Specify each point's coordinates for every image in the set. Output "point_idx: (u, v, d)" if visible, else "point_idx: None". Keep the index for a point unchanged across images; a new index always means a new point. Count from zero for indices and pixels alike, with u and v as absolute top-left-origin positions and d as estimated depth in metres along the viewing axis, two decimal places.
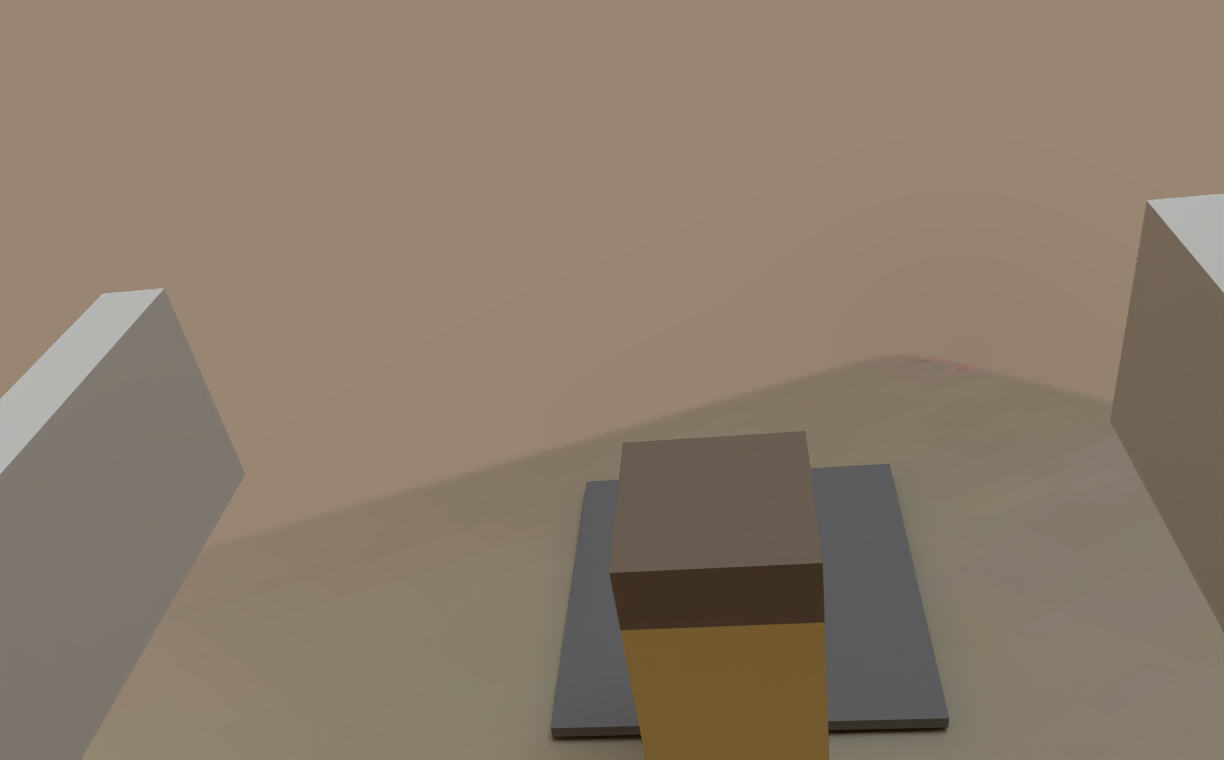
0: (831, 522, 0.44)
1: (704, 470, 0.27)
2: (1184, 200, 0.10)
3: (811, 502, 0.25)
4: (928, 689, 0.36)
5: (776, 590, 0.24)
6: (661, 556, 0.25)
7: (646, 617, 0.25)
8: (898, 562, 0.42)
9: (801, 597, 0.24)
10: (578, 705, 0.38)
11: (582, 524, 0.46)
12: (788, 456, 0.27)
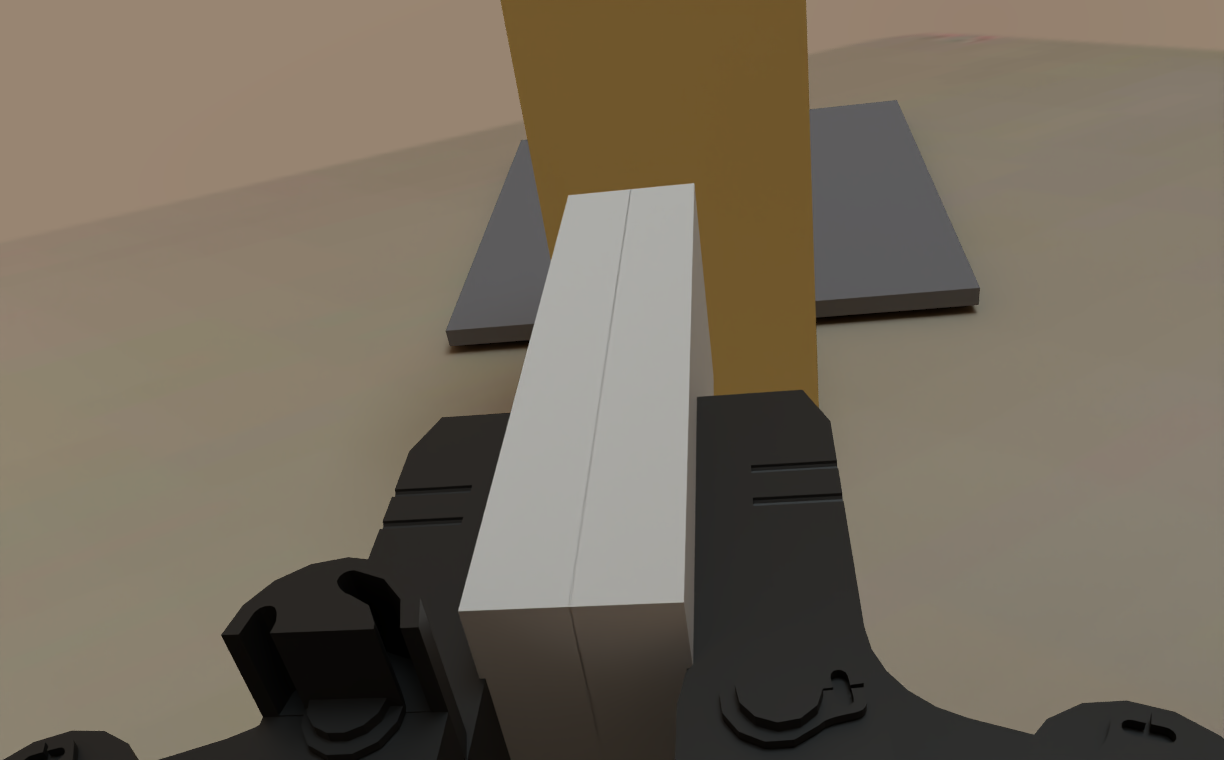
0: (823, 147, 0.35)
1: None
2: (656, 189, 0.12)
3: None
4: (951, 266, 0.27)
5: None
6: None
7: None
8: (909, 170, 0.32)
9: None
10: (484, 309, 0.28)
11: (511, 171, 0.37)
12: None
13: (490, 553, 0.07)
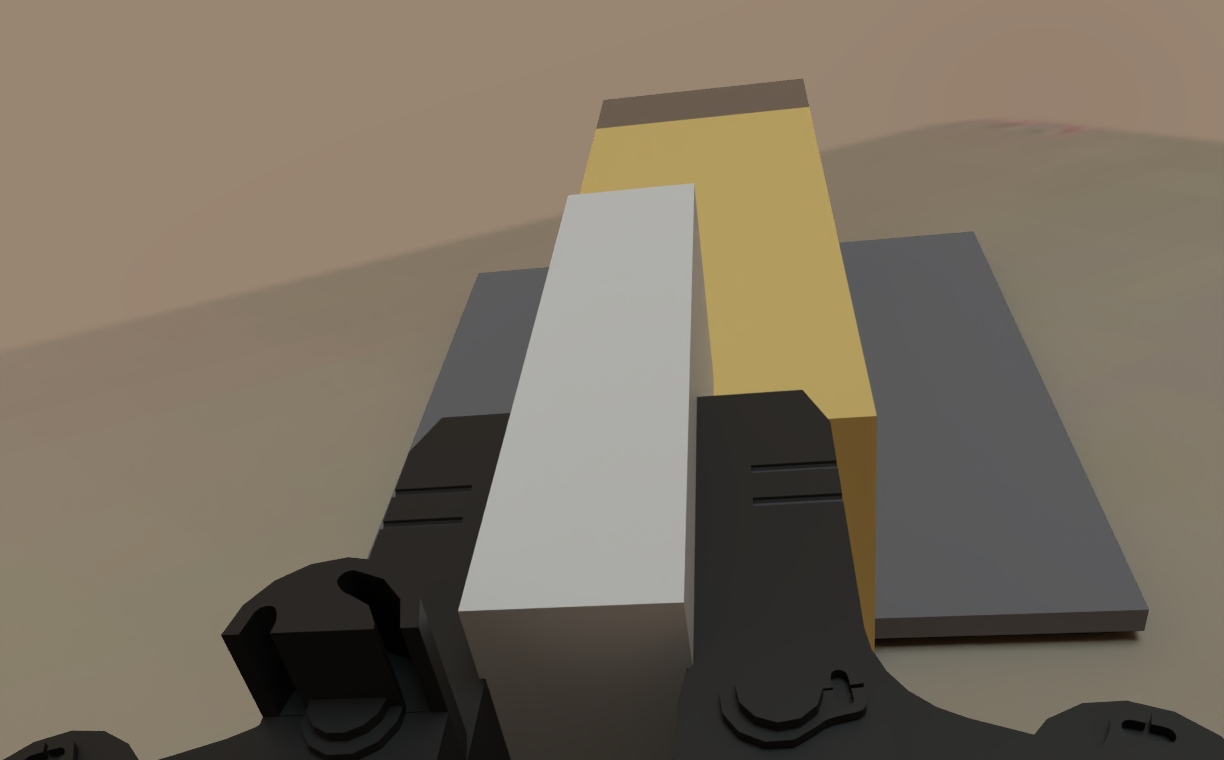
0: (880, 308, 0.25)
1: None
2: (656, 188, 0.12)
3: None
4: (1095, 558, 0.18)
5: (759, 94, 0.25)
6: None
7: (626, 119, 0.25)
8: (1005, 358, 0.23)
9: (784, 96, 0.24)
10: None
11: (461, 325, 0.28)
12: None
13: (489, 553, 0.07)
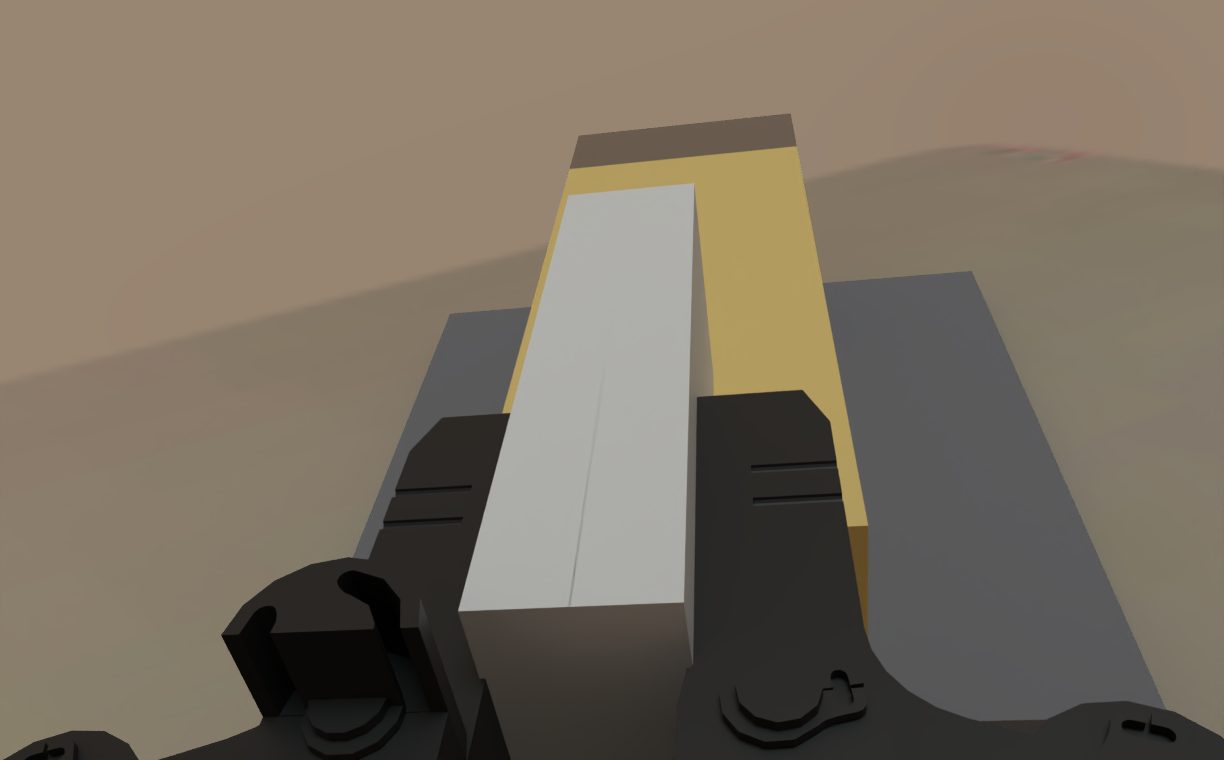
0: (874, 357, 0.24)
1: None
2: (656, 188, 0.12)
3: None
4: (1109, 653, 0.16)
5: (743, 131, 0.23)
6: None
7: (602, 158, 0.23)
8: (1007, 416, 0.21)
9: (770, 133, 0.23)
10: None
11: (429, 373, 0.26)
12: None
13: (490, 552, 0.07)
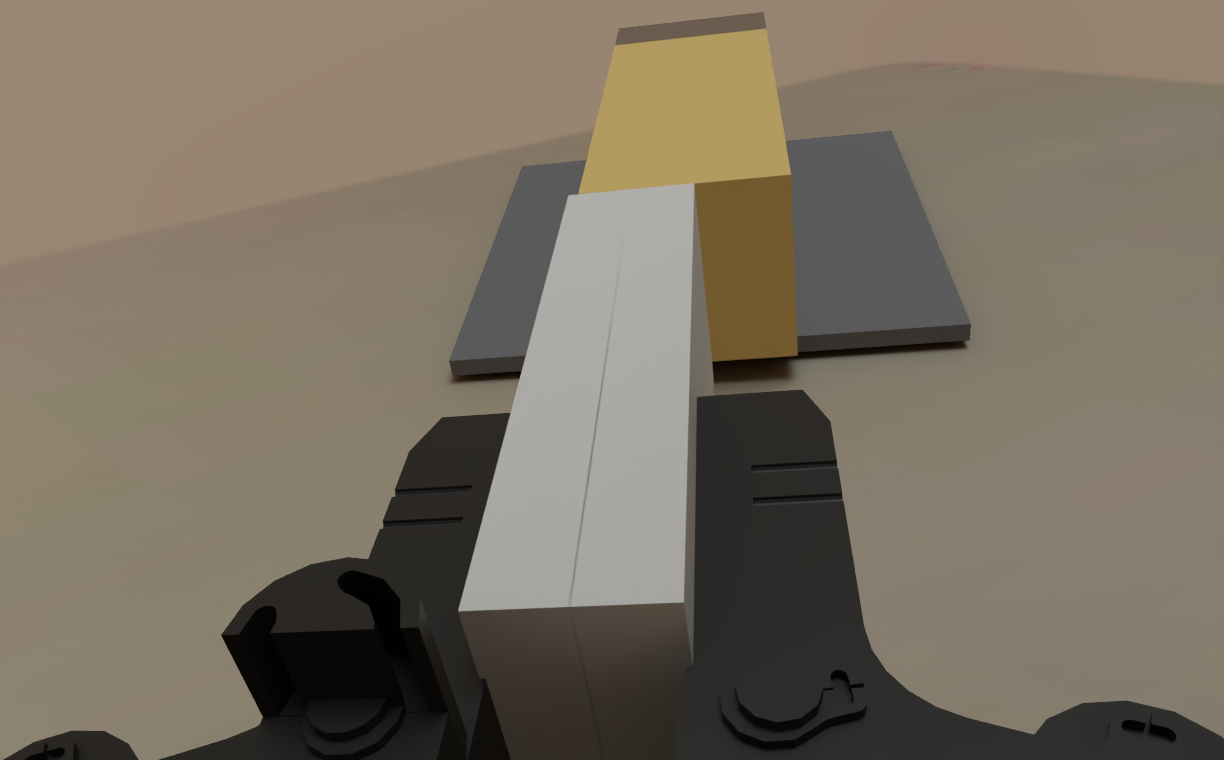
0: (819, 178, 0.35)
1: None
2: (656, 188, 0.12)
3: None
4: (943, 301, 0.28)
5: (731, 22, 0.35)
6: None
7: (636, 39, 0.34)
8: (902, 203, 0.33)
9: (749, 22, 0.34)
10: (487, 339, 0.29)
11: (512, 197, 0.37)
12: None
13: (490, 553, 0.07)
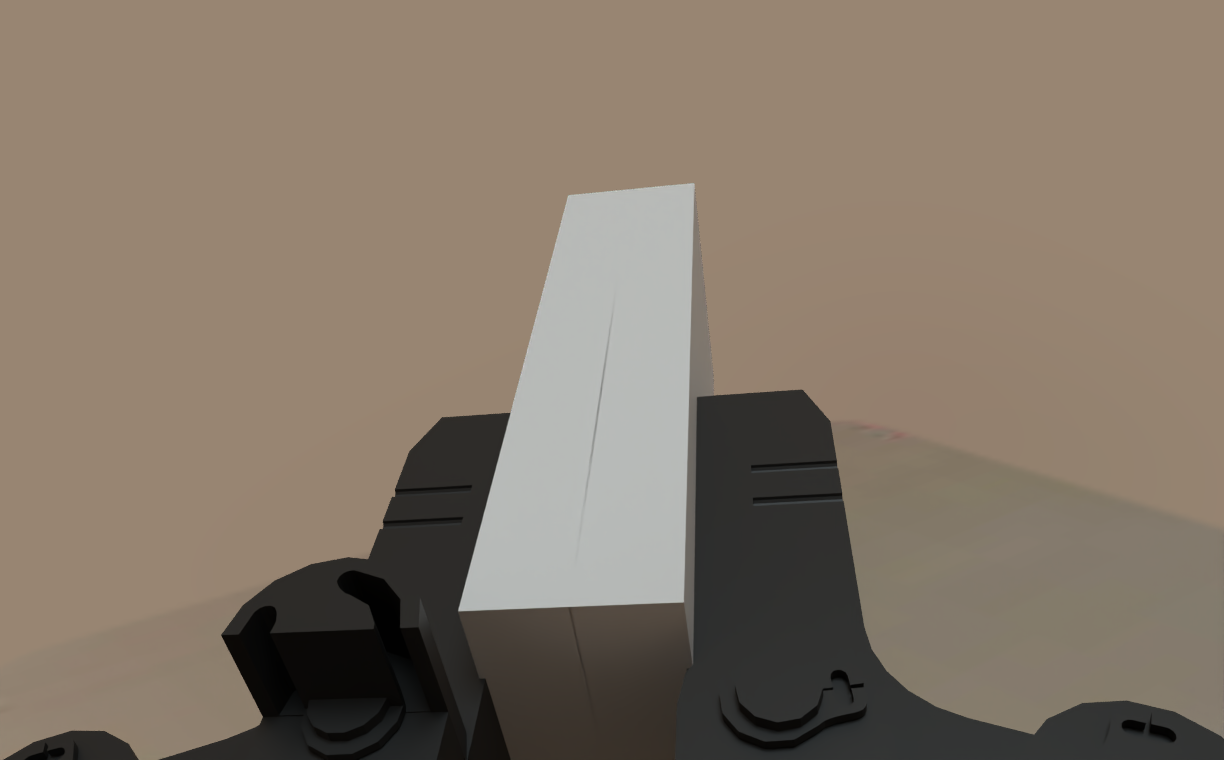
0: None
1: None
2: (657, 188, 0.12)
3: None
4: None
5: None
6: None
7: None
8: None
9: None
10: None
11: None
12: None
13: (490, 553, 0.07)
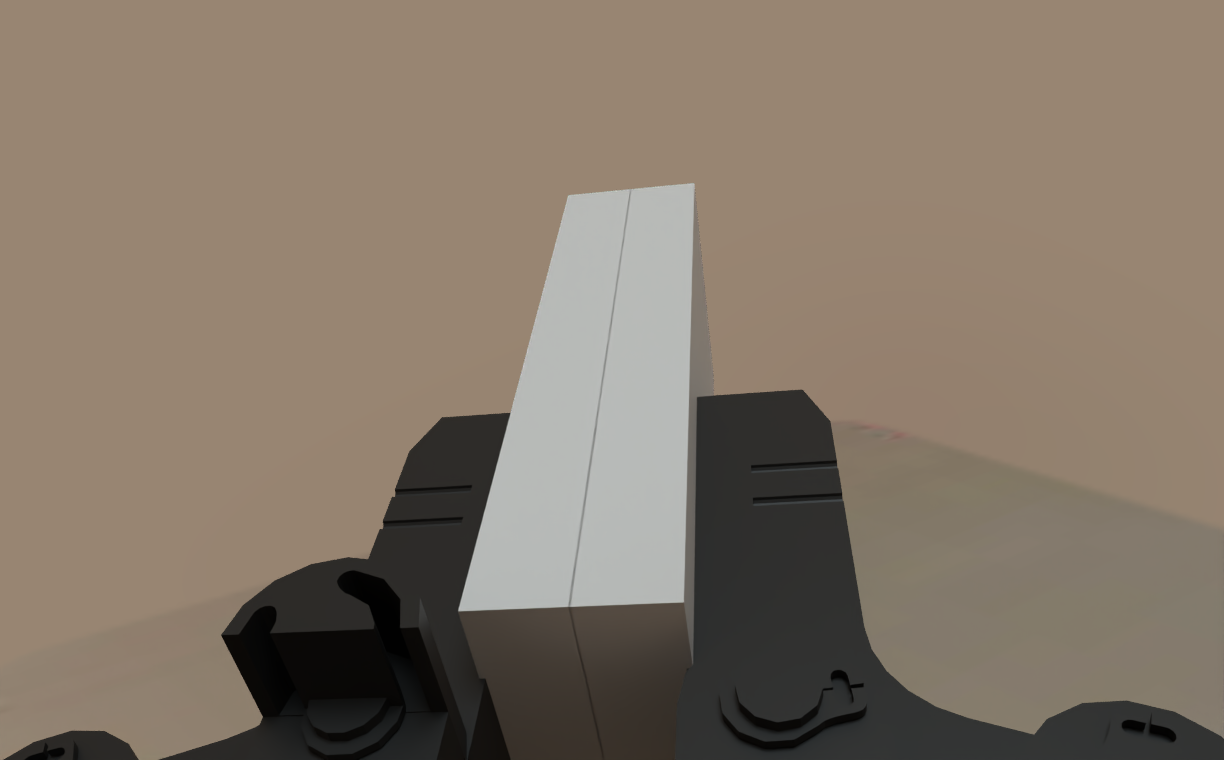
0: None
1: None
2: (656, 188, 0.12)
3: None
4: None
5: None
6: None
7: None
8: None
9: None
10: None
11: None
12: None
13: (489, 553, 0.07)
